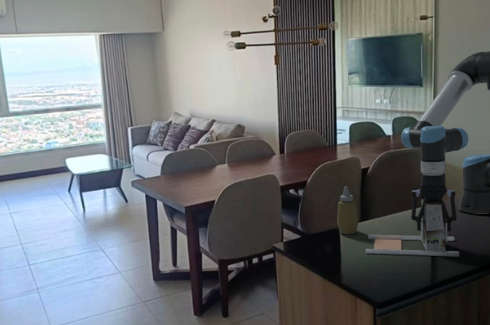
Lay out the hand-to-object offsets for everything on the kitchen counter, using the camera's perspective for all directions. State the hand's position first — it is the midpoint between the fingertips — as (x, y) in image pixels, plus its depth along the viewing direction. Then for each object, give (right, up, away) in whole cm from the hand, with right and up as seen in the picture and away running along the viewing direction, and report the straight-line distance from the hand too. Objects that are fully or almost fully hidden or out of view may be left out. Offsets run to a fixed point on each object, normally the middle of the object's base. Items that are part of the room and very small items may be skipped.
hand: (433, 240), depth 168 cm
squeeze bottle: (-24, -1, +23) cm, 33 cm away
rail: (-7, -3, +3) cm, 8 cm away
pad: (-14, -3, +5) cm, 15 cm away
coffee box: (0, -3, 0) cm, 3 cm away
